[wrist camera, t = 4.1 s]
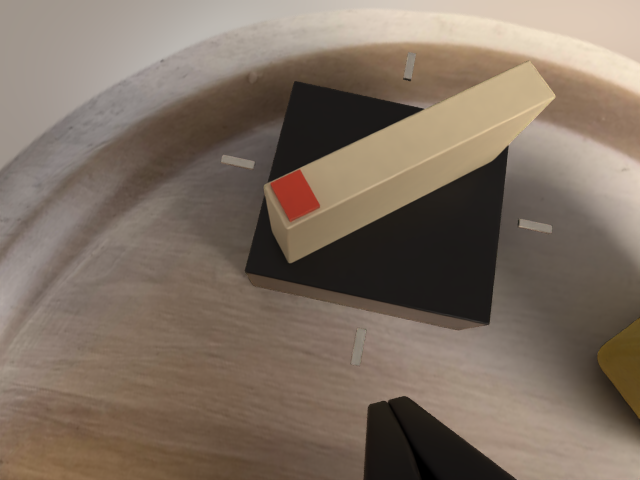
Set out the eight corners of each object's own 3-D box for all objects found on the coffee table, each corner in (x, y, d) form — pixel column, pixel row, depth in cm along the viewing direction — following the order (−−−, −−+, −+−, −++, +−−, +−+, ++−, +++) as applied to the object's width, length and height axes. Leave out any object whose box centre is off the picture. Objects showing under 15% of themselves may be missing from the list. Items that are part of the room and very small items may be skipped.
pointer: (473, 131, 20) (533, 53, 15) (493, 160, 20) (561, 92, 14) (271, 230, 18) (261, 181, 13) (289, 264, 18) (286, 227, 13)
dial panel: (524, 124, 24) (563, 85, 21) (497, 397, 20) (538, 405, 17) (267, 69, 24) (262, 20, 21) (194, 331, 21) (172, 325, 17)
